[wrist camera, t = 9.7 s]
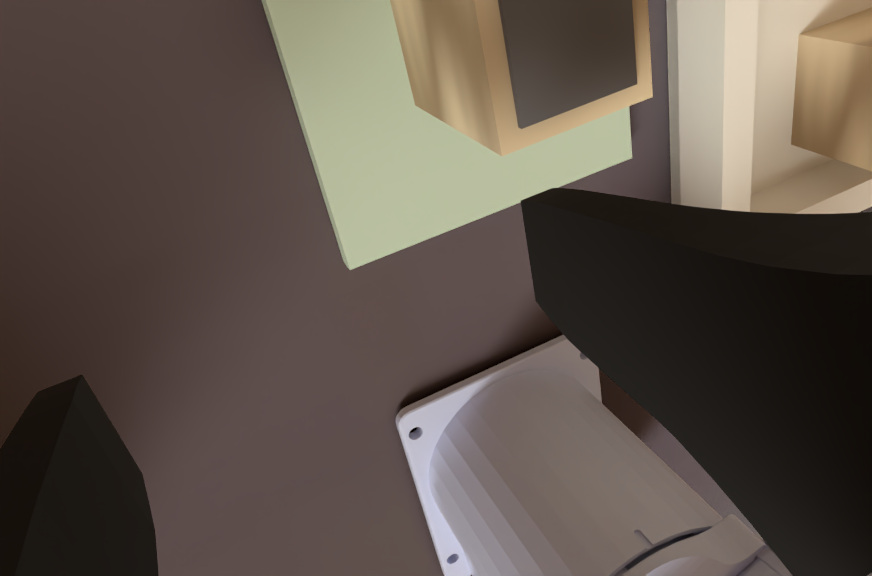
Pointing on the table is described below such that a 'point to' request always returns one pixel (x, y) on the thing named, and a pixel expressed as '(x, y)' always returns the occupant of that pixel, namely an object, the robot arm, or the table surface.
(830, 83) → the plain block
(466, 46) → the labelled block
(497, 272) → the table surface
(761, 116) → the tray
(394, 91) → the pad
